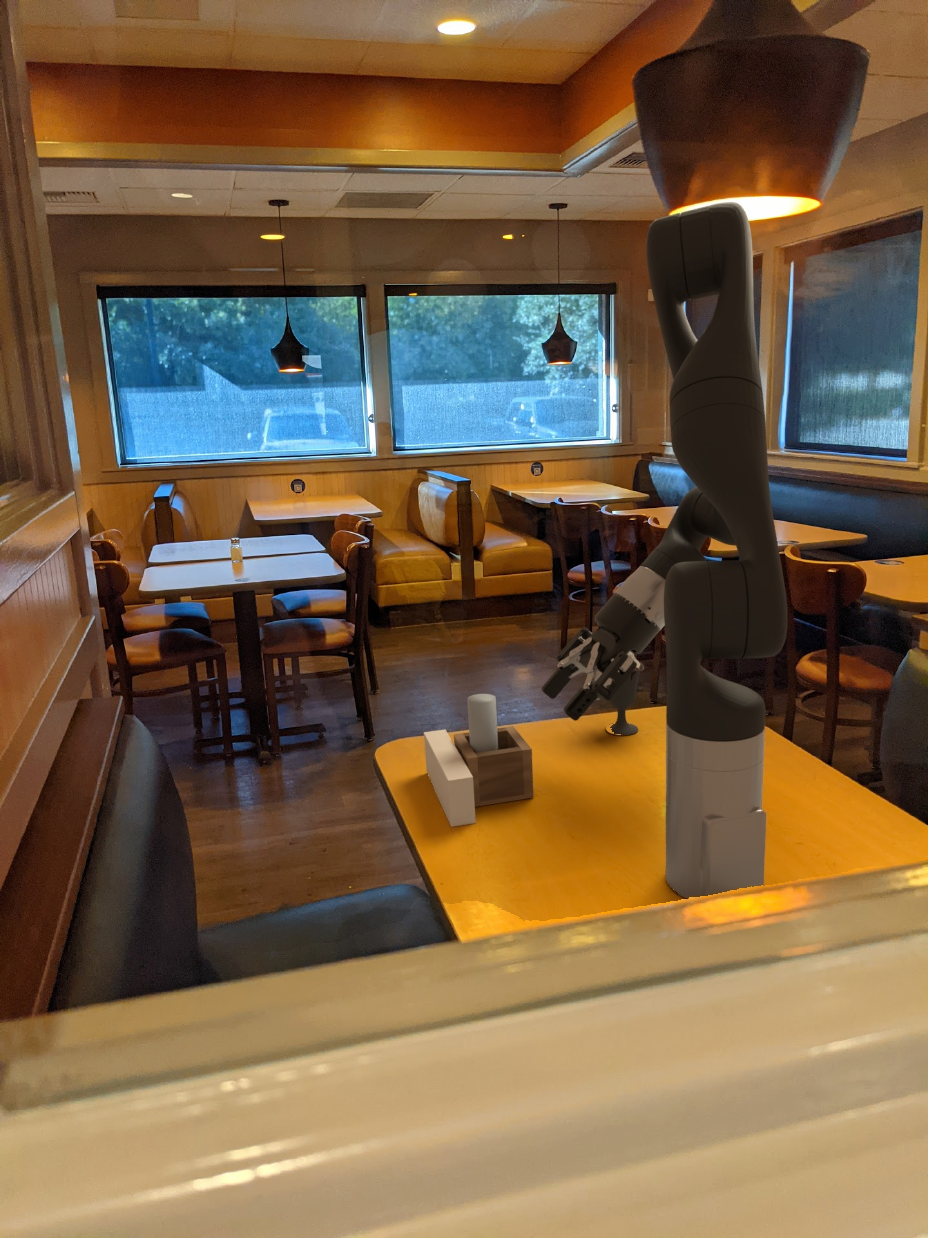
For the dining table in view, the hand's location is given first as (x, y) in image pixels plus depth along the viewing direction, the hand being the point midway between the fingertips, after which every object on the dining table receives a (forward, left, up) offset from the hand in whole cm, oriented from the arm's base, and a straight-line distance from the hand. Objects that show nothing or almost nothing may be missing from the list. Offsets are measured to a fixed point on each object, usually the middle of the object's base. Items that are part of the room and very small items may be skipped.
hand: (557, 705), depth 108 cm
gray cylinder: (0, +10, -10) cm, 14 cm away
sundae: (+13, -15, -11) cm, 22 cm away
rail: (0, +15, -10) cm, 18 cm away
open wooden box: (0, +9, -10) cm, 14 cm away
